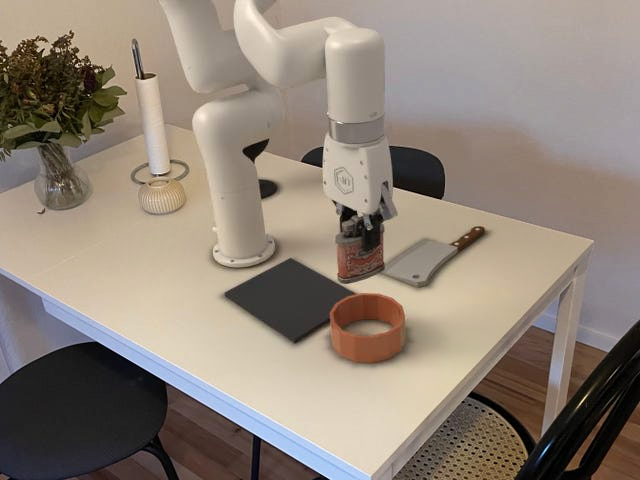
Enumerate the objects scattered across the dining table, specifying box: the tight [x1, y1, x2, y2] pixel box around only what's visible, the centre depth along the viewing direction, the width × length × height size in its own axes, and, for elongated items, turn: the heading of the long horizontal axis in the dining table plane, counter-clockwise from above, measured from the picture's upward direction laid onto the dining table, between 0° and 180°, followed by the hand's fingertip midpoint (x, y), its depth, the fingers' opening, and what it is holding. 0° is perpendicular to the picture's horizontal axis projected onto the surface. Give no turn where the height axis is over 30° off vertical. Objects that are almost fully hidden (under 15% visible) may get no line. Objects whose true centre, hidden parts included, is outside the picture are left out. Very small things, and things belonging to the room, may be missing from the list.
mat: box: [224, 257, 357, 344], centre depth 120 cm, size 20×16×1 cm
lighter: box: [334, 212, 386, 285], centre depth 100 cm, size 8×3×10 cm, turn 117°
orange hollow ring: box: [329, 292, 406, 364], centre depth 108 cm, size 12×12×5 cm
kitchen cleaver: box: [379, 225, 486, 288], centre depth 129 cm, size 24×1×10 cm
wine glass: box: [242, 138, 278, 200], centre depth 154 cm, size 10×10×20 cm
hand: (360, 241), depth 100 cm, fingers closed on lighter, 3 cm apart
